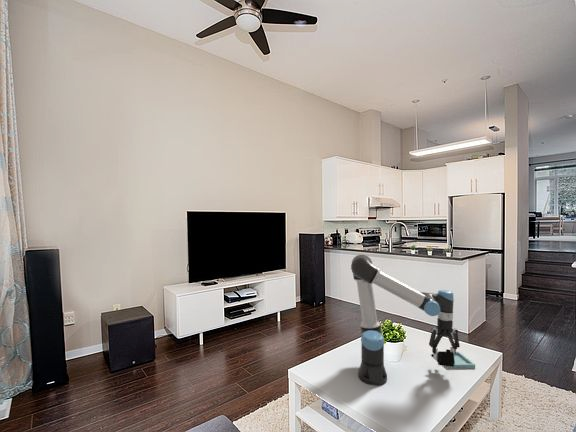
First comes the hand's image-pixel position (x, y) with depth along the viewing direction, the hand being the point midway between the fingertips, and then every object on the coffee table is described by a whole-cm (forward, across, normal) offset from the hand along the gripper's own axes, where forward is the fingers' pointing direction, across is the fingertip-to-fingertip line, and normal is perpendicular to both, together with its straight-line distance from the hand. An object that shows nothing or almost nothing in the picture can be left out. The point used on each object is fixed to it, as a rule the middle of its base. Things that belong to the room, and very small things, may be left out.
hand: (443, 359), depth 166 cm
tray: (+8, +14, +14) cm, 21 cm away
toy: (+3, 0, +1) cm, 3 cm away
